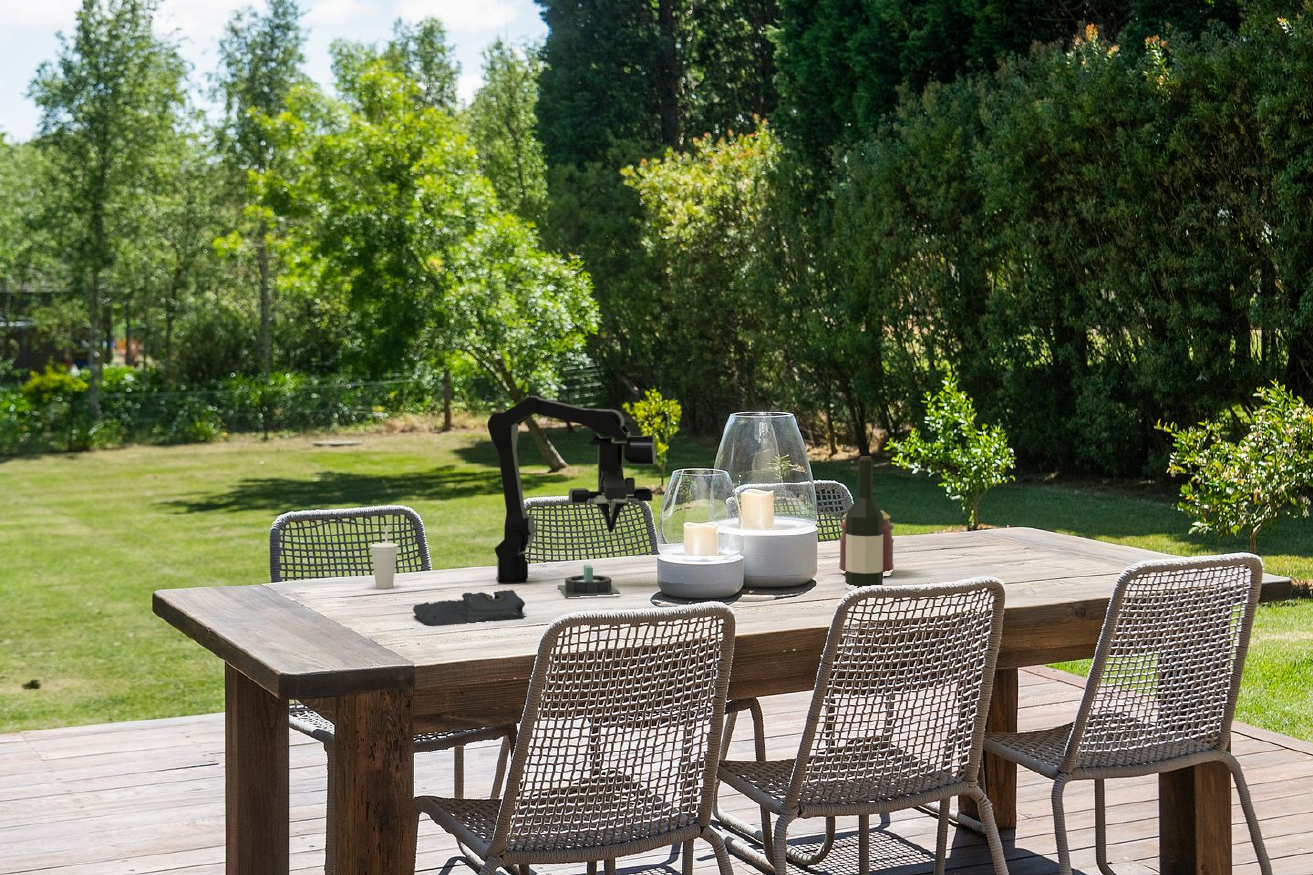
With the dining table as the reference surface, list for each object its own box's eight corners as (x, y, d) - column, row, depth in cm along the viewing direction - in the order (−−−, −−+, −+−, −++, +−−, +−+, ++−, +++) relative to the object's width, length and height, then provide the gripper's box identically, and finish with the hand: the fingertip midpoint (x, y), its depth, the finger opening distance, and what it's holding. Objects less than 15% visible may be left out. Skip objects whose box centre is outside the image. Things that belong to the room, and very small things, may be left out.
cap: (577, 591, 291) (577, 568, 291) (573, 587, 296) (573, 564, 296) (602, 590, 292) (602, 567, 292) (598, 586, 298) (598, 563, 297)
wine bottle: (881, 585, 304) (882, 455, 303) (883, 592, 296) (885, 458, 294) (844, 585, 305) (846, 455, 304) (846, 591, 297) (847, 457, 295)
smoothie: (392, 590, 298) (391, 528, 297) (365, 589, 299) (364, 527, 298) (403, 585, 304) (402, 524, 303) (377, 584, 305) (376, 523, 304)
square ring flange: (565, 598, 287) (565, 584, 287) (557, 589, 299) (557, 575, 299) (620, 596, 290) (620, 582, 290) (610, 587, 301) (610, 573, 301)
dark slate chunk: (406, 615, 271) (406, 592, 270) (509, 607, 280) (509, 585, 280) (426, 629, 257) (426, 605, 256) (533, 620, 266) (533, 597, 266)
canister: (828, 572, 324) (829, 500, 323) (873, 568, 330) (874, 497, 329) (858, 580, 312) (859, 505, 311) (904, 576, 318) (905, 503, 317)
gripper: (575, 468, 295) (575, 537, 296) (657, 466, 299) (657, 535, 300) (568, 464, 306) (568, 531, 307) (647, 462, 310) (647, 529, 311)
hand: (610, 532), depth 306 cm, fingers closed
